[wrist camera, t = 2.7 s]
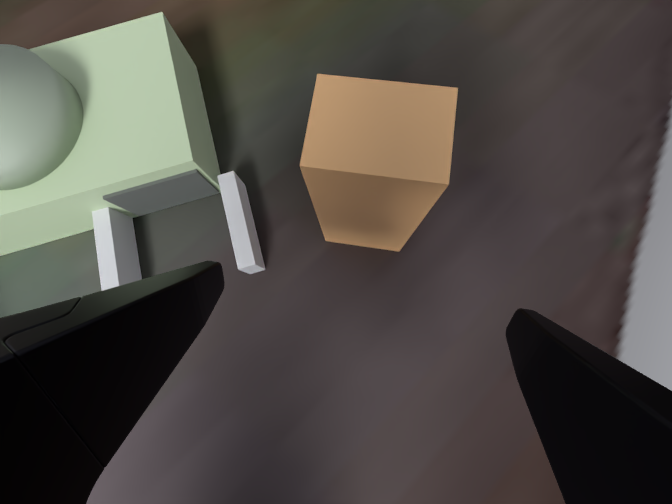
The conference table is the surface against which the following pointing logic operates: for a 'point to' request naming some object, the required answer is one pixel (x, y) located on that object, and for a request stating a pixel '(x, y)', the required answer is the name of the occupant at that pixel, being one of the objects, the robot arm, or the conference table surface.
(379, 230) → the tan block
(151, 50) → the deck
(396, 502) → the conference table surface
